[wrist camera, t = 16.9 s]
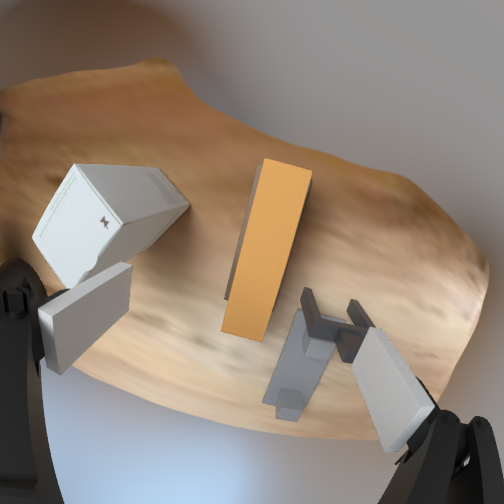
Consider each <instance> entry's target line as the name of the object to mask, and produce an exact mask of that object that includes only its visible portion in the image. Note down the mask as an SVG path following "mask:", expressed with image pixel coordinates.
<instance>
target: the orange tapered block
mask: <svg viewBox="0 0 504 504" xmlns="http://www.w3.org/2000/svg"><path fill="white" fill-rule="evenodd" d="M311 174H312V171H310V170H306V169H303V168H299V167H296V166H292V165H289V164H285V163H281V162H277V161H274V160H270V159H266V158H265V159H264V163H263V167H262V170H261V174H260V178H259V182H258V186H257V190H256V193H255V197H254V201H253V205H252V209H251V213H250V217H249V220H248V224H247V228H246V232H245V236H244V240H243V244H242V248H241V252H240V256H239V260H238V264H237V268H236V272H235V276H234V280H233V284H232V288H231V292H230V296H229V300H228V304H227V308H226V312H225V316H224V320H223V324H222V328H221V332H225V333H229V334H232V335H236V336H240V337H244V338H247V339H251V340H255V341H259V342H262V340H263V337H264V334H265V331H266V328H267V325H268V322H269V318H270V315H271V312H272V309H273V306H274V303H275V299H276V296H277V293H278V290H279V287H280V283H281V280H282V277H283V273H284V270H285V267H286V263H287V260H288V257H289V253H290V250H291V246H292V243H293V239H294V236H295V232H296V229H297V225H298V222H299V218H300V215H301V211H302V207H303V204H304V200H305V196H306V193H307V189H308V185H309V181H310V178H311Z"/></svg>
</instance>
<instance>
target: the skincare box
mask: <svg viewBox="0 0 504 504" xmlns="http://www.w3.org/2000/svg"><path fill="white" fill-rule="evenodd" d="M189 206H190V204H189V202H188V201H187V200H186V199H185V198H184V197H183V196H182V194H181V193H180V192H179V191H178V190H177V189H176V188H175V186H174V185H173V184H172V183H171V182H170V181H169V180H168V178H167V177H166V176H165V175H164V174H163V173H162V172H161V171H160V169H159V168H151V167H137V166H120V165H99V164H74V165H73V166H72V168H71V169H70V171H69V172H68V174H67V176H66V177H65V179H64V180H63V182H62V183H61V185H60V187H59V188H58V190H57V192H56V193H55V195H54V197H53V198H52V200H51V202H50V204H49V205H48V207H47V209H46V211H45V213H44V214H43V216H42V218H41V220H40V222H39V224H38V226H37V228H36V230H35V232H34V234H33V236H32V239H33V241H34V242H35V244H36V246H37V247H38V249H39V250H40V252H41V253H42V255H43V256H44V257H45V259H46V260H47V262H48V263H49V264H50V266H51V267H52V269H53V270H54V272H55V273H56V275H57V276H58V277H59V279H60V280H61V281H62V283H63V284H64V286H65V287H66V288H67V289H68V288H69V289H72V288H74V287H75V286H77V285H79V284H81V283H82V282H84V281H86V280H88V279H90V278H91V277H93V276H95V275H97V274H99V273H100V272H102V271H104V270H106V269H108V268H110V267H111V266H113V265H115V264H117V263H119V262H126V261H127V260H129V259H131V258H132V257H134V256H136V255H138V254H139V253H141V252H143V251H145V250H146V249H148V248H149V247H151V246H152V245H153V243H154V242H155V241H156V240H157V239H158V238H159V237H160V236H161V235H162V234H163V233H164V232H165V231H166V230H167V229H168V228H169V227H170V226H171V225H172V224H173V223H174V222H175V221H176V220H177V219H178V218H179V217H180V216H181V215H182V214H183V213H184V212H185V211H186V210H187V209H188V207H189Z"/></svg>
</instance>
